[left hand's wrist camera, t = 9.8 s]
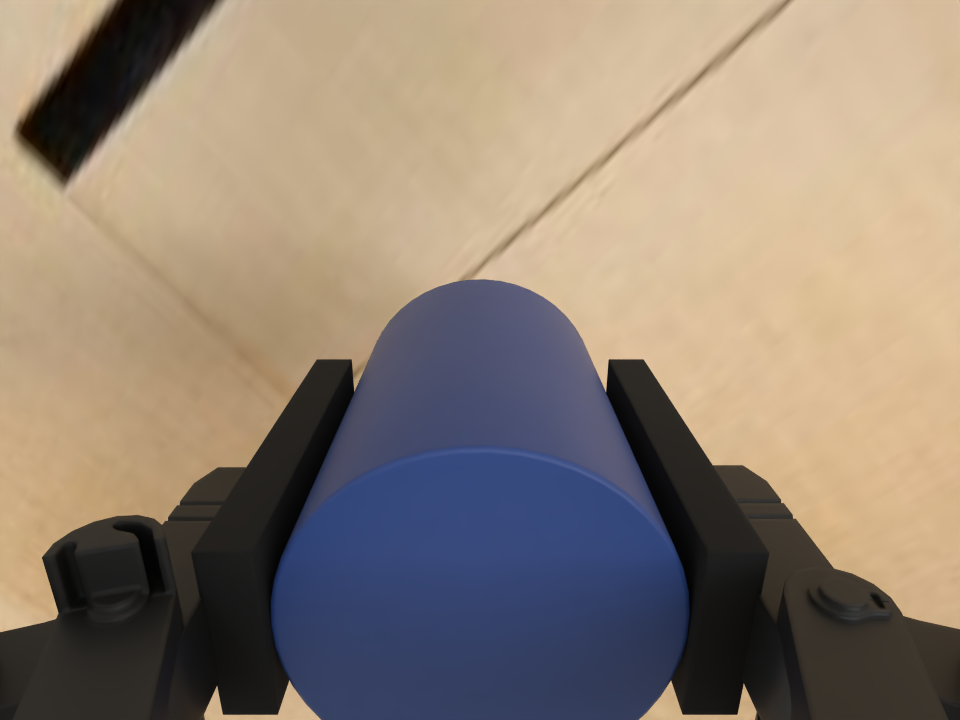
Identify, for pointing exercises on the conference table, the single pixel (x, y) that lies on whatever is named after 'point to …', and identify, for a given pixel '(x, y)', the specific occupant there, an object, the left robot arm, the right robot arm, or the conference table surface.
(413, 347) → the can
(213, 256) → the conference table surface
